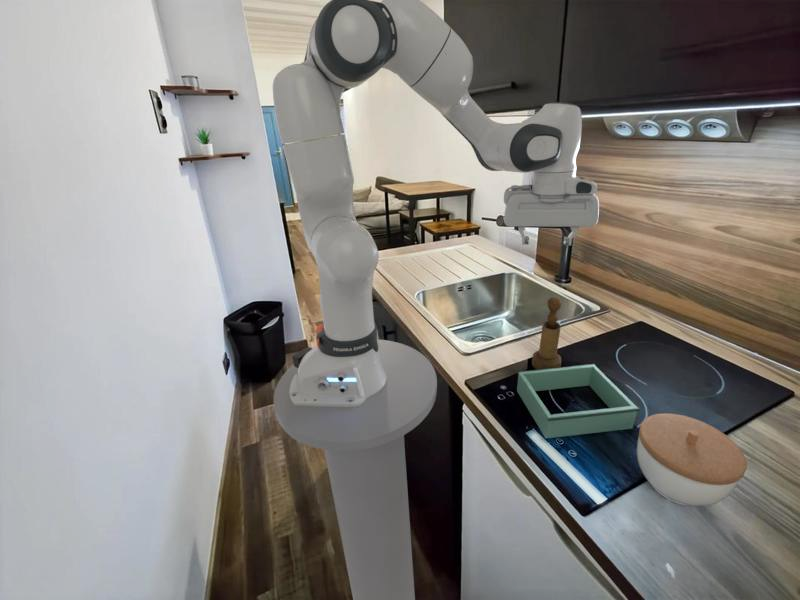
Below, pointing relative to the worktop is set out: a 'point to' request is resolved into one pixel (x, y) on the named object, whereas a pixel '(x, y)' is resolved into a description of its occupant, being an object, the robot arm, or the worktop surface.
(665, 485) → the lidded bowl
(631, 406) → the green square frame
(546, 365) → the mortar and pestle
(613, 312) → the worktop surface
